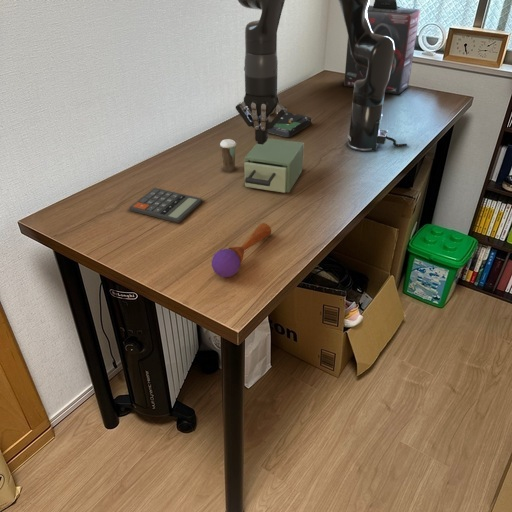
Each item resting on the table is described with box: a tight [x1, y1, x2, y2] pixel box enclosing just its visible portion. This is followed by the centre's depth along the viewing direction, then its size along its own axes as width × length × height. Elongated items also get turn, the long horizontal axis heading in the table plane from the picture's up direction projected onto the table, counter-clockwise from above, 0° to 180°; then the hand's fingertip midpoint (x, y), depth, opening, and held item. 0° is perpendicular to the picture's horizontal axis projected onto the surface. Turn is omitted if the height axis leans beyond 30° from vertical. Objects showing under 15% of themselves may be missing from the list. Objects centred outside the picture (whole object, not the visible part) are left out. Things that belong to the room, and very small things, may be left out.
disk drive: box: [268, 111, 312, 138], centre depth 169 cm, size 10×3×15 cm
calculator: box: [129, 187, 203, 224], centre depth 128 cm, size 12×1×15 cm
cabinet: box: [244, 137, 305, 193], centre depth 138 cm, size 14×13×9 cm
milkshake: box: [219, 138, 239, 173], centre depth 142 cm, size 5×5×10 cm
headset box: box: [343, 0, 421, 95], centre depth 196 cm, size 25×12×33 cm, turn 57°
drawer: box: [243, 161, 287, 194], centre depth 133 cm, size 19×11×7 cm, turn 161°
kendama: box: [211, 222, 272, 278], centre depth 108 cm, size 6×6×20 cm
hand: (261, 143), depth 122 cm, fingers closed
